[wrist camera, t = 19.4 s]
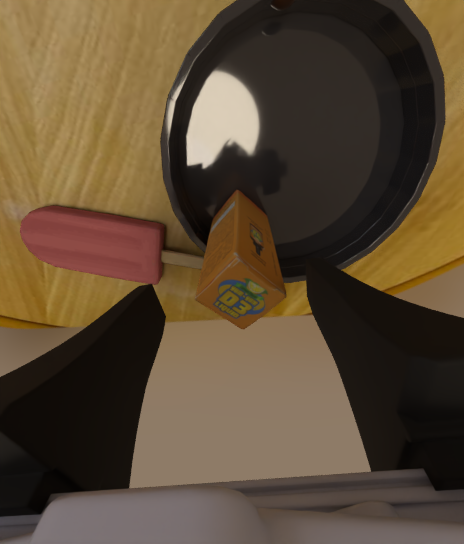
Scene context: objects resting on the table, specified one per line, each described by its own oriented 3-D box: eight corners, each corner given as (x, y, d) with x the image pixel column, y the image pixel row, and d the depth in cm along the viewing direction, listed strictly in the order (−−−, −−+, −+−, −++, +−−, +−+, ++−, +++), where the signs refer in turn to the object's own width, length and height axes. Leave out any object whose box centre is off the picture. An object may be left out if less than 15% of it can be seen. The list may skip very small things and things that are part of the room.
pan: (388, 243, 21) (414, 264, 18) (205, 273, 23) (200, 296, 20) (430, -36, 13) (490, -84, 10) (138, 44, 14) (112, 24, 11)
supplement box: (208, 221, 19) (187, 299, 11) (237, 187, 18) (239, 246, 10) (239, 246, 21) (243, 335, 12) (269, 216, 19) (296, 292, 11)
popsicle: (205, 294, 22) (26, 265, 21) (207, 284, 23) (39, 256, 22) (215, 240, 19) (9, 202, 18) (216, 232, 20) (25, 196, 19)
